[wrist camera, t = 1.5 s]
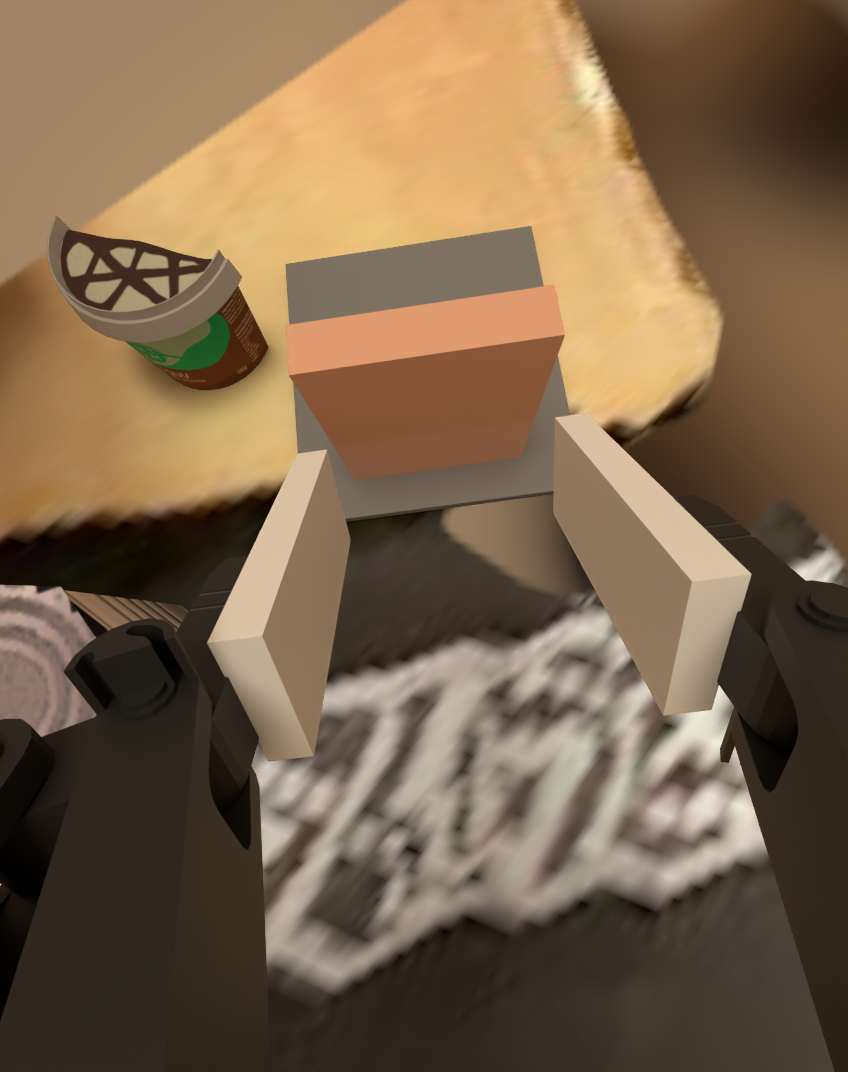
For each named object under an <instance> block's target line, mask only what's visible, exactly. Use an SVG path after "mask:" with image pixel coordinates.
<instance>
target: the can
mask: <svg viewBox="0 0 848 1072" xmlns="http://www.w3.org/2000/svg"><path fill="white" fill-rule="evenodd" d="M187 612H189V611H188V610H186V609H185V608H184V607H182V606H181V605H174V604H166V603H159V602H151V601H143V600H135V599H127V598H119V597H111V596H104V595H96V594H88V593H80V592H72V591H64V590H63V589H62V588H61V587H58V586H19V585H0V720H2V719H22V720H24V721H25V722H27V723H28V724H29V725H31V726H32V727H33V729H34V730H35V731H36V732H37V733H38V734H39V735H40V736H41V737H42V736H45V735H48V734H50V733H53V732H56V731H58V730H61V729H64V728H67V727H69V726H72V725H75V724H77V723H80V722H83V721H86V720H88V719H91V718H93V717H96V713H95V712H94V711H93V709H92V708H91V707H90V705H89V704H88V703H87V702H86V700H85V699H84V698H83V696H82V695H81V694H80V693H79V691H78V690H77V689H76V687H75V686H74V685H73V684H72V682H71V681H70V680H69V679H68V677H67V676H66V675H65V673H64V672H63V671H64V670H65V668H66V667H67V665H68V664H69V662H70V661H71V659H72V658H73V656H75V655H76V654H77V653H78V652H79V651H80V650H81V649H82V648H83V647H85V646H86V645H87V644H88V643H89V642H90V641H92V640H94V639H95V638H97V637H99V636H100V635H102V634H104V633H105V632H107V631H109V630H111V629H113V628H116V627H118V626H121V625H123V624H126V623H128V622H131V621H137V620H142V619H148V618H151V619H161V620H165V621H166V622H168V623H169V624H170V625H172V626H173V627H174V629H175V631H176V632H177V630H178V628H179V626H180V625H181V623H182V621H183V619H184V618H185V616H186V614H187Z"/></svg>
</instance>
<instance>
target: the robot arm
mask: <svg viewBox="0 0 848 1072" xmlns="http://www.w3.org/2000/svg"><path fill="white" fill-rule="evenodd" d="M553 508H554V509H553V513H554V515H555V517H556V519H557V520H558V523H559V524H560V526H561V528H562V530H563V532H564V534H565V535H566V537H567V539H568V541H569V543H570V545H571V546H572V548H573V550H574V552H575V554H576V556H577V557H578V559H579V561H580V563H581V564H582V567H583V569H584V570H585V572H586V574H587V576H588V578H589V580H590V581H591V583H592V585H593V587H594V589H595V591H596V592H597V594H598V596H599V598H600V600H601V602H602V604H603V605H604V607H605V609H606V611H607V613H608V615H609V616H610V618H611V620H612V622H613V624H614V626H615V627H616V629H617V631H618V633H619V635H620V637H621V638H622V640H623V642H624V644H625V646H626V648H627V650H628V651H629V653H630V655H631V657H632V659H633V661H634V662H635V664H636V666H637V668H638V670H639V672H640V673H641V675H642V677H643V679H644V681H645V683H646V684H647V686H648V688H649V690H650V692H651V694H652V696H653V697H654V699H655V701H656V703H657V705H658V707H659V708H660V710H661V712H662V714H663V715H672V714H680V713H689V712H697V711H706V710H711V709H712V706H713V703H714V699H715V696H716V692H717V689H718V686H719V685H720V687H721V688H722V690H723V691H724V692H725V694H726V695H727V697H728V698H729V699H730V701H731V702H732V704H733V705H734V709H733V712H732V715H731V718H730V721H729V724H728V727H727V730H726V733H725V736H724V739H723V742H722V745H721V748H720V759H721V762H726V763H729V760H730V758H731V755H732V752H733V749H734V747H736V751H737V754H738V757H739V760H740V765H741V767H742V770H743V773H744V777H745V780H746V783H747V787H748V790H749V793H750V796H751V800H752V803H753V806H754V809H755V813H756V816H757V819H758V823H759V826H760V829H761V832H762V836H763V839H764V842H765V845H766V849H767V852H768V855H769V858H770V862H771V865H772V868H773V872H774V875H775V878H776V881H777V885H778V888H779V891H780V894H781V898H782V901H783V904H784V908H785V911H786V914H787V917H788V921H789V924H790V927H791V930H792V934H793V937H794V940H795V943H796V947H797V950H798V953H799V957H800V960H801V963H802V966H803V970H804V973H805V976H806V979H807V983H808V986H809V989H810V993H811V996H812V999H813V1002H814V1006H815V1009H816V1012H817V1015H818V1019H819V1022H820V1025H821V1028H822V1032H823V1035H824V1038H825V1042H826V1045H827V1048H828V1051H829V1055H830V1058H831V1061H832V1064H833V1068H834V1071H835V1072H848V588H847V587H844V586H841V585H838V584H834V583H826V582H819V581H805V580H804V579H803V578H802V577H801V576H799V575H798V574H797V573H796V572H795V571H794V570H792V569H791V568H790V567H789V566H788V565H787V564H785V563H784V562H783V561H782V560H781V559H780V558H778V557H777V556H776V555H775V554H774V553H773V552H771V551H770V550H769V549H768V548H767V547H766V546H764V545H763V544H762V543H761V542H760V541H759V540H757V539H756V538H755V537H751V534H750V533H749V532H748V531H747V530H746V529H745V528H743V527H742V526H741V525H740V524H736V521H735V520H734V519H733V518H732V517H730V516H729V515H728V514H727V513H726V512H725V511H724V510H722V509H721V508H720V507H719V506H717V505H715V504H713V503H710V502H708V501H706V500H704V499H701V498H699V497H697V496H695V495H688V496H680V497H672V496H671V495H669V493H668V492H666V491H665V490H664V489H663V488H662V487H661V486H660V485H659V484H658V483H657V482H656V481H655V480H654V479H653V478H652V477H651V476H650V475H649V474H648V473H647V472H646V471H645V470H644V469H643V468H642V467H641V466H640V465H639V464H638V463H636V461H635V460H634V459H633V458H631V457H630V456H629V455H628V454H627V453H626V452H625V451H624V450H623V449H622V448H621V447H620V446H619V445H618V444H617V443H616V442H615V441H614V440H613V439H612V438H611V437H610V436H609V435H608V434H607V433H606V432H605V431H604V430H603V429H602V428H601V427H600V426H599V425H598V424H596V423H595V422H594V421H593V420H592V419H591V418H590V417H589V416H588V415H587V414H586V413H583V414H576V415H569V416H562V417H555V441H554V505H553ZM349 546H350V536H349V533H348V529H347V525H346V521H345V517H344V513H343V509H342V505H341V501H340V497H339V494H338V490H337V486H336V482H335V478H334V474H333V470H332V466H331V462H330V459H329V455H328V451H327V450H320V451H313V452H306V453H299V454H297V456H296V458H295V460H294V462H293V464H292V466H291V468H290V470H289V472H288V475H287V477H286V479H285V481H284V483H283V485H282V487H281V489H280V491H279V493H278V495H277V498H276V500H275V502H274V504H273V506H272V508H271V510H270V512H269V514H268V516H267V518H266V521H265V523H264V525H263V527H262V529H261V531H260V533H259V535H258V537H257V539H256V542H255V544H254V546H253V548H252V550H251V552H250V554H249V556H242V557H234V558H227V559H226V560H225V561H224V562H223V563H222V564H221V565H219V566H218V567H217V568H216V569H215V570H214V571H213V572H212V573H210V574H209V575H208V577H207V579H206V581H205V582H204V584H203V586H202V588H201V589H200V591H199V596H197V597H196V598H195V600H194V602H193V604H192V605H191V607H190V612H187V614H186V616H185V618H184V619H183V621H182V623H181V625H180V626H179V628H178V630H177V632H176V631H175V629H174V627H173V626H172V625H170V624H169V623H168V622H166V621H165V620H161V619H151V618H148V619H142V620H137V621H131V622H128V623H126V624H123V625H121V626H118V627H116V628H113V629H111V630H109V631H107V632H105V633H104V634H102V635H100V636H99V637H97V638H95V639H94V640H92V641H90V642H89V643H88V644H87V645H86V646H85V647H83V648H82V649H81V650H80V651H79V652H78V653H77V654H76V655H75V656H73V658H72V659H71V661H70V662H69V664H68V665H67V667H66V668H65V670H64V671H63V672H64V673H65V675H66V676H67V677H68V679H69V680H70V681H71V682H72V684H73V685H74V686H75V687H76V689H77V690H78V691H79V693H80V694H81V695H82V696H83V698H84V699H85V700H86V702H87V703H88V704H89V705H90V707H91V708H92V709H93V711H94V712H95V713H96V717H93V718H91V719H88V720H86V721H83V722H80V723H77V724H75V725H72V726H69V727H67V728H64V729H61V730H58V731H56V732H53V733H50V734H48V735H45V736H42V737H41V736H40V735H39V734H38V733H37V732H36V731H35V730H34V729H33V727H32V726H31V725H29V724H28V723H27V722H25V721H24V720H22V719H2V720H0V884H1V886H0V1072H271V1064H270V1039H269V1014H268V990H267V965H266V940H265V916H264V891H263V866H262V841H261V817H260V792H259V784H258V780H257V777H256V774H255V772H254V770H253V768H252V767H251V765H252V761H253V758H254V754H255V750H256V747H257V743H258V742H259V743H260V745H261V747H262V749H263V751H264V753H265V755H266V757H267V759H268V761H276V760H284V759H293V758H301V757H310V756H314V752H315V746H316V741H317V735H318V729H319V723H320V717H321V711H322V705H323V699H324V693H325V687H326V681H327V676H328V670H329V664H330V658H331V652H332V646H333V640H334V634H335V628H336V622H337V617H338V611H339V605H340V599H341V593H342V587H343V581H344V575H345V569H346V563H347V557H348V552H349Z"/></svg>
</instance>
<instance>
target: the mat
mask: <svg viewBox="0 0 848 1072" xmlns="http://www.w3.org/2000/svg"><path fill="white" fill-rule="evenodd" d="M286 279H287V294H288V309H289V324H290V325H291V324H297V323H304V322H310V321H317V320H324V319H330V318H337V317H344V316H350V315H357V314H364V313H370V312H377V311H383V310H390V309H397V308H403V307H410V306H417V305H423V304H430V303H437V302H443V301H450V300H456V299H463V298H470V297H476V296H483V295H490V294H496V293H503V292H509V291H516V290H523V289H529V288H536V287H543V281H542V276H541V272H540V267H539V262H538V257H537V252H536V247H535V242H534V237H533V233H532V228H531V226H528V227H521V228H515V229H509V230H502V231H496V232H489V233H483V234H476V235H470V236H464V237H457V238H451V239H444V240H438V241H431V242H425V243H419V244H412V245H406V246H399V247H393V248H387V249H380V250H374V251H367V252H361V253H354V254H348V255H342V256H335V257H329V258H322V259H316V260H309V261H303V262H297V263H290V264H286ZM293 384H294V382H293ZM294 399H295V414H296V429H297V444H298V454H299V453H306V452H313V451H320V450H327V451H328V455H329V459H330V462H331V466H332V470H333V474H334V478H335V482H336V486H337V490H338V494H339V497H340V501H341V505H342V509H343V513H344V517H345V521H346V522H348V521H356V520H363V519H371V518H378V517H386V516H393V515H401V514H408V513H415V512H423V511H430V510H438V509H445V508H453V507H460V506H468V505H475V504H482V503H490V502H497V501H504V500H512V499H520V498H527V497H534V496H542V495H549V494H554V441H555V417H562V416H569V415H570V413H569V408H568V403H567V398H566V394H565V389H564V384H563V379H562V374H561V369H560V364H559V359H558V355H557V358H556V361H555V364H554V367H553V369H552V372H551V375H550V378H549V381H548V383H547V386H546V389H545V392H544V395H543V398H542V400H541V403H540V406H539V409H538V412H537V414H536V417H535V420H534V423H533V426H532V428H531V431H530V434H529V437H528V440H527V442H526V445H525V448H524V451H523V454H522V456H521V458H514V459H507V460H500V461H492V462H485V463H478V464H470V465H463V466H456V467H449V468H441V469H434V470H427V471H420V472H412V473H405V474H398V475H390V476H383V477H376V478H369V479H361V480H355V479H354V478H353V476H352V475H351V473H350V471H349V470H348V468H347V467H346V465H345V464H344V462H343V460H342V459H341V457H340V456H339V454H338V452H337V451H336V449H335V448H334V446H333V444H332V443H331V441H330V440H329V438H328V436H327V435H326V433H325V432H324V430H323V429H322V427H321V425H320V424H319V422H318V421H317V419H316V417H315V416H314V414H313V413H312V411H311V409H310V408H309V406H308V405H307V403H306V402H305V400H304V398H303V397H302V395H301V394H300V392H299V390H298V389H297V387H296V386H295V384H294Z"/></svg>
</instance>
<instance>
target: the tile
mask: <svg viewBox="0 0 848 1072" xmlns="http://www.w3.org/2000/svg"><path fill="white" fill-rule="evenodd" d="M564 336H565V333H564V328H563V324H562V319H561V314H560V309H559V305H558V300H557V295H556V290H555V286H554V285H549V286H543V287H536V288H529V289H523V290H516V291H509V292H503V293H496V294H490V295H483V296H476V297H470V298H463V299H456V300H450V301H443V302H437V303H430V304H423V305H417V306H410V307H403V308H397V309H390V310H383V311H377V312H370V313H364V314H357V315H350V316H344V317H337V318H330V319H324V320H317V321H310V322H304V323H297V324H291V325H286V337H287V353H288V368H289V376H290V378H291V379H292V381H293V382H294V384H295V386H296V387H297V389H298V390H299V392H300V394H301V395H302V397H303V398H304V400H305V402H306V403H307V405H308V406H309V408H310V409H311V411H312V413H313V414H314V416H315V417H316V419H317V421H318V422H319V424H320V425H321V427H322V429H323V430H324V432H325V433H326V435H327V436H328V438H329V440H330V441H331V443H332V444H333V446H334V448H335V449H336V451H337V452H338V454H339V456H340V457H341V459H342V460H343V462H344V464H345V465H346V467H347V468H348V470H349V471H350V473H351V475H352V476H353V478H354V479H355V480H361V479H369V478H376V477H383V476H390V475H398V474H405V473H412V472H420V471H427V470H434V469H441V468H449V467H456V466H463V465H470V464H478V463H485V462H492V461H500V460H507V459H514V458H521V456H522V454H523V451H524V448H525V445H526V442H527V440H528V437H529V434H530V431H531V428H532V426H533V423H534V420H535V417H536V414H537V412H538V409H539V406H540V403H541V400H542V398H543V395H544V392H545V389H546V386H547V383H548V381H549V378H550V375H551V372H552V369H553V367H554V364H555V361H556V358H557V355H558V353H559V350H560V347H561V344H562V341H563V339H564Z"/></svg>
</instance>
